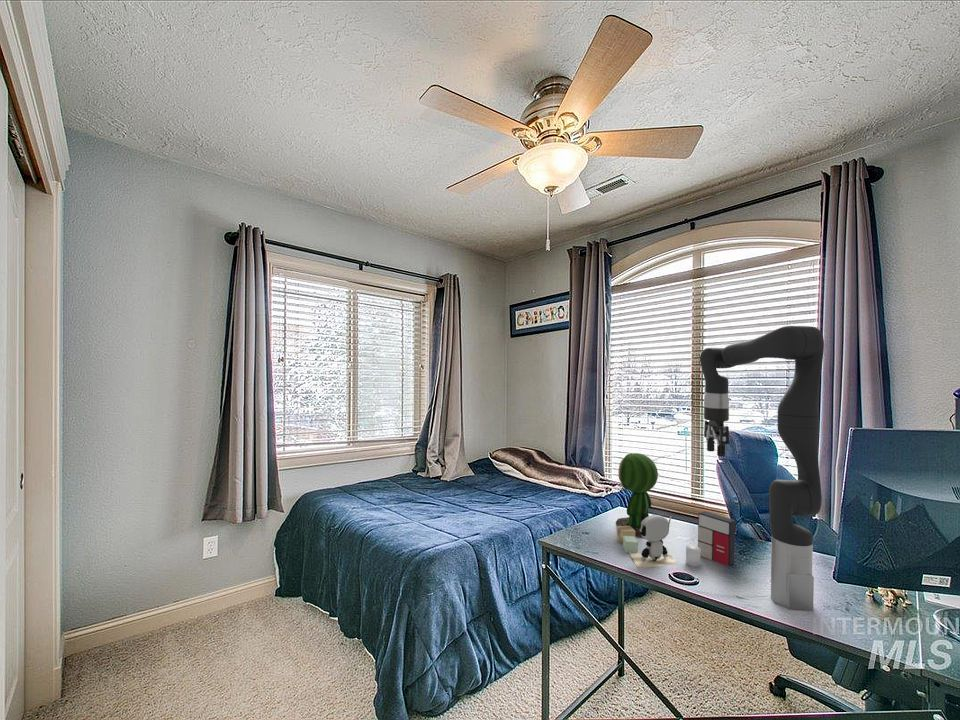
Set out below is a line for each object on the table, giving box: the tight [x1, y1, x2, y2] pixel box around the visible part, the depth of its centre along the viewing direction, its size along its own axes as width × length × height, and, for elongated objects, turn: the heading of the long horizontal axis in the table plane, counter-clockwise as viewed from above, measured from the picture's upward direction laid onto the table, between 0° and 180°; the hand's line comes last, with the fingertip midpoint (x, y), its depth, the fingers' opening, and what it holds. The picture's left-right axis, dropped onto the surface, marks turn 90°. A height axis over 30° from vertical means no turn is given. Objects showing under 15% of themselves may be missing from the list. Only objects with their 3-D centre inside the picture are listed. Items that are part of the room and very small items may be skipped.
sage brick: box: [622, 536, 639, 553], centre depth 159 cm, size 5×4×4 cm
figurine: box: [615, 452, 659, 539], centre depth 178 cm, size 17×20×30 cm
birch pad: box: [629, 552, 678, 570], centre depth 148 cm, size 12×14×1 cm
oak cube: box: [616, 525, 636, 546], centre depth 166 cm, size 5×5×5 cm
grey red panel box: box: [697, 510, 737, 566], centre depth 151 cm, size 11×4×15 cm, turn 34°
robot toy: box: [640, 514, 672, 562], centre depth 150 cm, size 12×4×15 cm, turn 112°
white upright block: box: [685, 544, 702, 568], centre depth 147 cm, size 4×4×6 cm
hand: (715, 453), depth 151 cm, fingers open, 8 cm apart
